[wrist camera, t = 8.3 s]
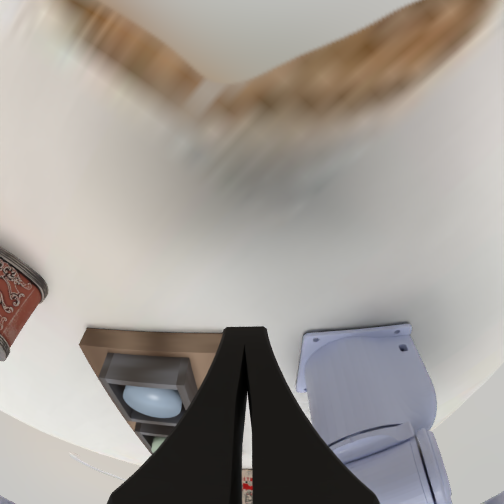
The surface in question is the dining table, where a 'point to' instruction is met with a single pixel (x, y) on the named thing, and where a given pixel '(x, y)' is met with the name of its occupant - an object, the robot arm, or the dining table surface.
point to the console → (149, 369)
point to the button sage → (157, 443)
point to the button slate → (153, 401)
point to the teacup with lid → (246, 486)
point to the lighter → (17, 298)
